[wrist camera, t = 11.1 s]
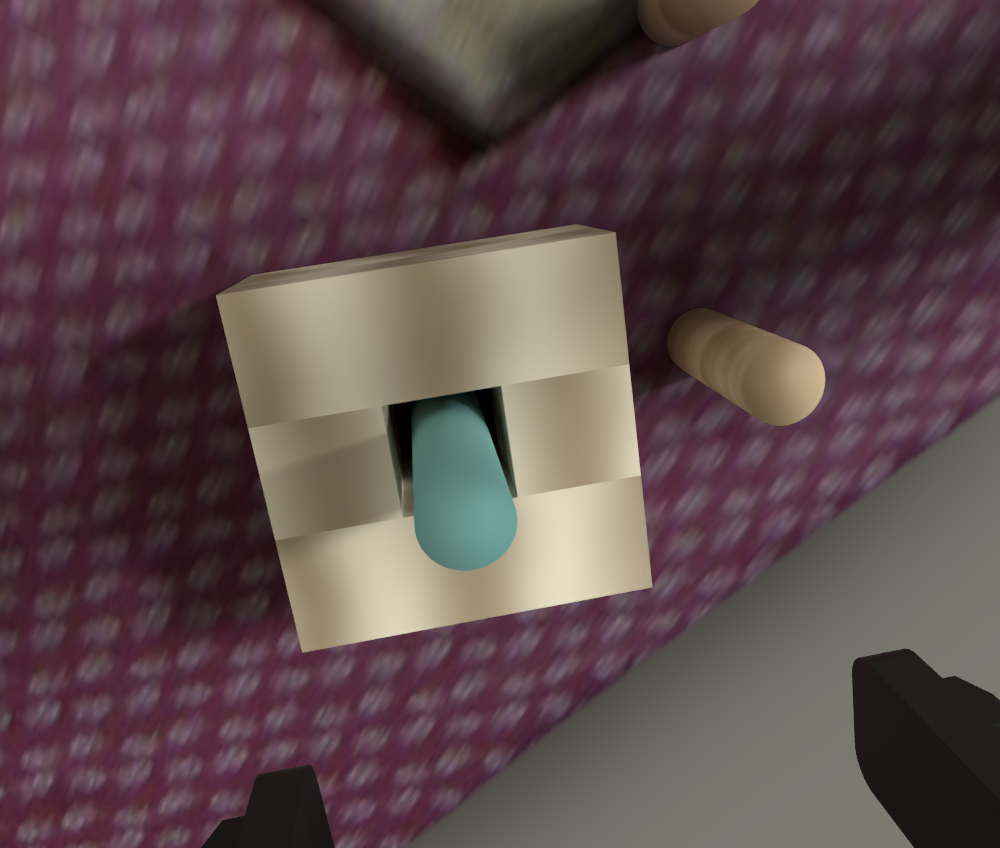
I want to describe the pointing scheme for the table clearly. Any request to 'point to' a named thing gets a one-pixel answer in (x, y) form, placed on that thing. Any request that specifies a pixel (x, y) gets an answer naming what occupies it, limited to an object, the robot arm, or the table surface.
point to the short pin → (686, 18)
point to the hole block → (431, 373)
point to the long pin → (458, 484)
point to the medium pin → (748, 365)
